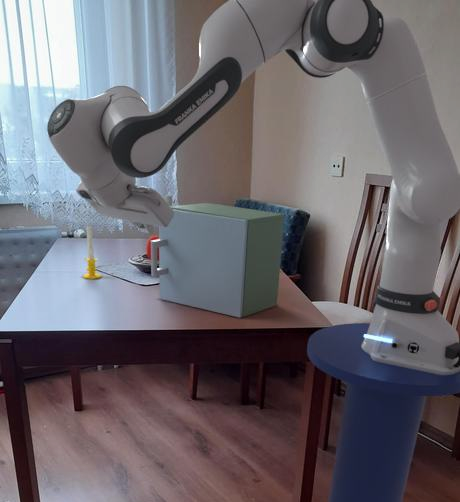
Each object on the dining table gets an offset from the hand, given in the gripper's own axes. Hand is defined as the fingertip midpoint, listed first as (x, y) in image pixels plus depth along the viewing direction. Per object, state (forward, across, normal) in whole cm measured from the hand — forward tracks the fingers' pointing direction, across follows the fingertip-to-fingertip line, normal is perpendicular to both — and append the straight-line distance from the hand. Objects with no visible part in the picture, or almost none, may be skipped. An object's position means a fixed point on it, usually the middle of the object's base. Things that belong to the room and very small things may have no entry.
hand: (148, 230), depth 119 cm
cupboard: (+39, +4, -7) cm, 39 cm away
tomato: (+52, +44, -19) cm, 70 cm away
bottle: (+42, +28, -9) cm, 51 cm away
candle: (+32, +48, 0) cm, 58 cm away
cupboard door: (+30, +4, +2) cm, 30 cm away
